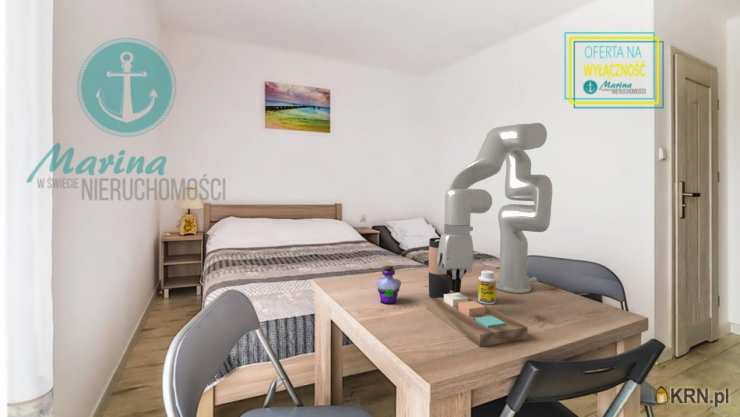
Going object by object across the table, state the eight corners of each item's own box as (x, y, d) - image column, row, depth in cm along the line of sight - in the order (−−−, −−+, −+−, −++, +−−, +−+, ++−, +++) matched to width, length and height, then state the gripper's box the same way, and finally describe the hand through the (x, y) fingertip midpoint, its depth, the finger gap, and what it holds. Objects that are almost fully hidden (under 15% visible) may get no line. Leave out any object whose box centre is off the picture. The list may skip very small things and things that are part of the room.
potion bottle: (381, 307, 108) (381, 270, 107) (371, 299, 116) (371, 264, 115) (406, 304, 111) (406, 267, 110) (394, 296, 119) (394, 262, 118)
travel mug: (449, 293, 123) (450, 237, 121) (452, 300, 115) (453, 241, 114) (427, 292, 123) (428, 237, 122) (429, 299, 116) (429, 240, 114)
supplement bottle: (477, 303, 112) (478, 272, 111) (477, 298, 117) (478, 269, 116) (496, 305, 110) (497, 274, 109) (495, 300, 115) (496, 270, 115)
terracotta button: (473, 310, 100) (473, 300, 99) (485, 317, 95) (485, 306, 94) (458, 312, 98) (458, 302, 98) (468, 319, 93) (469, 308, 93)
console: (465, 304, 111) (465, 294, 111) (527, 338, 86) (527, 327, 86) (426, 308, 107) (426, 299, 107) (479, 346, 81) (480, 334, 81)
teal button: (491, 326, 92) (491, 315, 92) (504, 334, 87) (505, 323, 87) (474, 329, 90) (475, 317, 90) (487, 337, 85) (487, 325, 85)
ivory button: (458, 302, 107) (458, 292, 107) (468, 307, 102) (468, 297, 102) (443, 303, 105) (443, 294, 105) (452, 309, 101) (453, 299, 100)
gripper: (470, 228, 108) (468, 286, 109) (428, 229, 104) (426, 289, 104) (486, 231, 101) (483, 293, 102) (441, 232, 96) (439, 296, 97)
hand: (454, 291), depth 103 cm, fingers closed
